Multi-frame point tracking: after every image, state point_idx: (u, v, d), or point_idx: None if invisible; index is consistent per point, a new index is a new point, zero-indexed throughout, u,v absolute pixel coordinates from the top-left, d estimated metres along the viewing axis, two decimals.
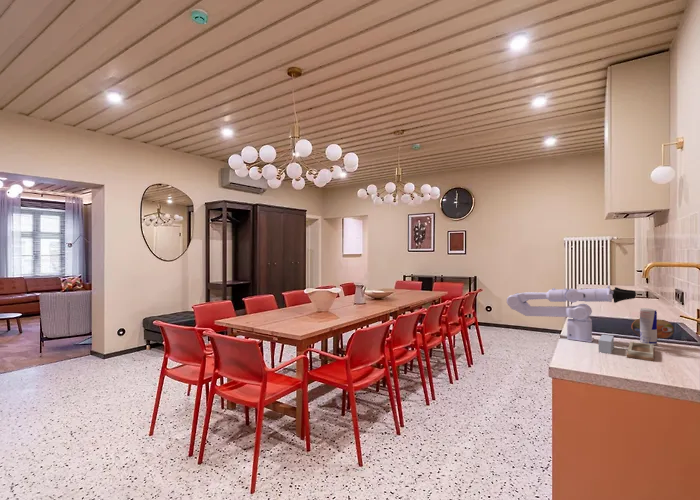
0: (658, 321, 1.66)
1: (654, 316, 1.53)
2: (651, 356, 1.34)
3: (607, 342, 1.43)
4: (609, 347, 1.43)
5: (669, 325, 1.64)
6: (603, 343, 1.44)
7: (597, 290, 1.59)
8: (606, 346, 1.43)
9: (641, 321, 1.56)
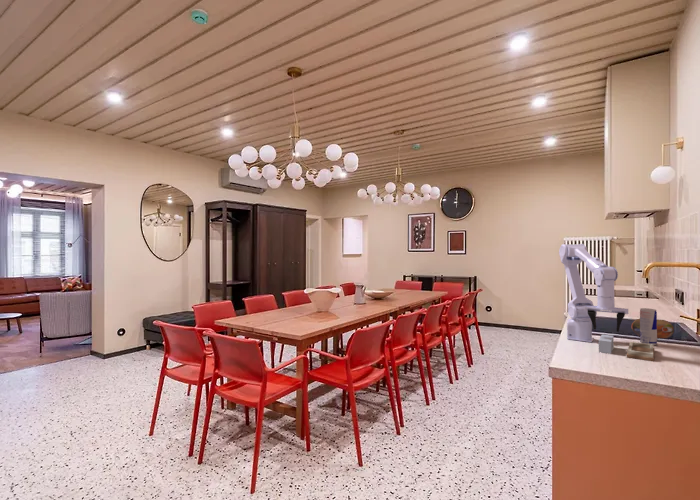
0: (658, 321, 1.66)
1: (654, 316, 1.53)
2: (651, 356, 1.34)
3: (607, 342, 1.43)
4: (609, 347, 1.43)
5: (669, 325, 1.64)
6: (603, 343, 1.44)
7: (600, 298, 1.48)
8: (606, 346, 1.43)
9: (641, 321, 1.56)
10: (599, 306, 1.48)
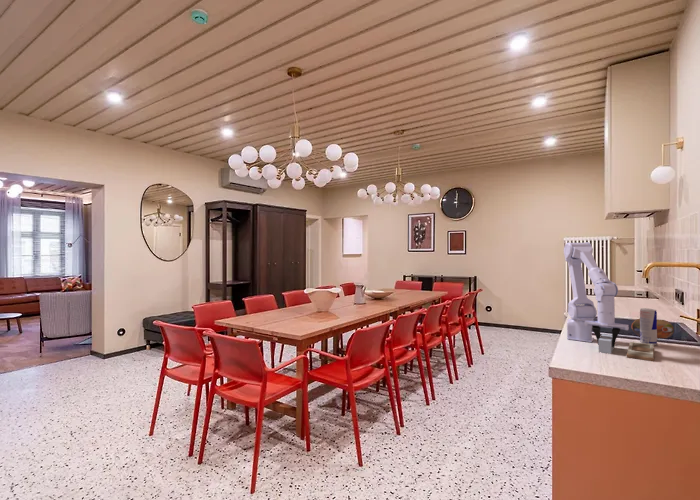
0: (658, 321, 1.66)
1: (654, 316, 1.53)
2: (651, 356, 1.34)
3: (607, 342, 1.43)
4: (609, 347, 1.43)
5: (669, 325, 1.64)
6: (603, 343, 1.44)
7: (600, 314, 1.48)
8: (606, 346, 1.43)
9: (641, 321, 1.56)
10: (599, 322, 1.48)
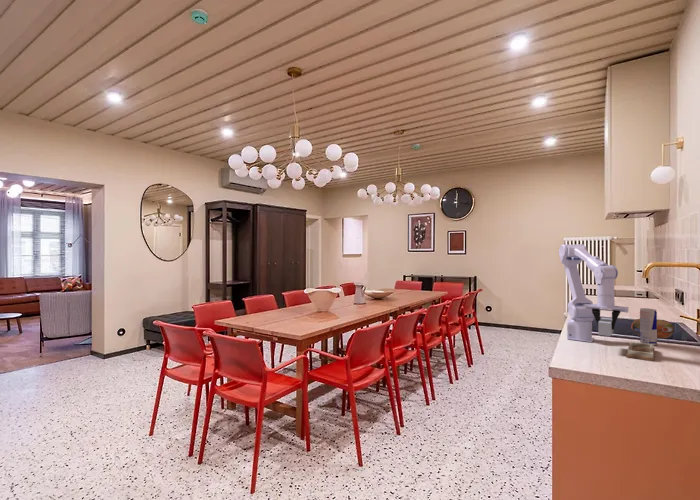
0: (658, 321, 1.66)
1: (654, 316, 1.53)
2: (651, 356, 1.34)
3: (607, 324, 1.43)
4: (609, 329, 1.43)
5: (669, 325, 1.64)
6: (603, 325, 1.44)
7: (599, 297, 1.48)
8: (606, 328, 1.43)
9: (641, 321, 1.56)
10: (599, 304, 1.48)
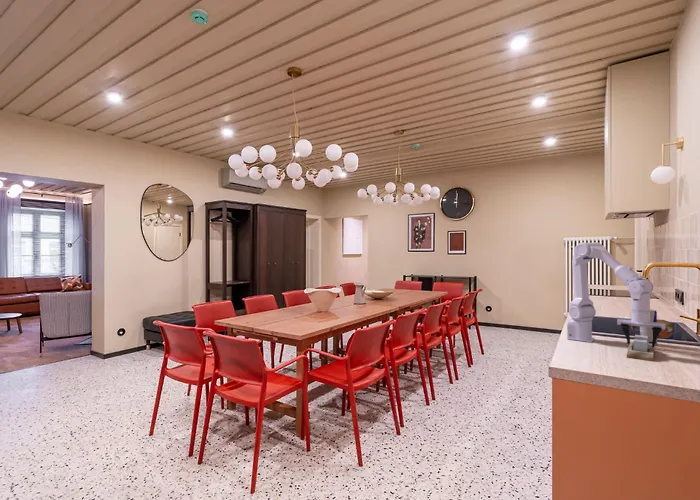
0: (658, 321, 1.66)
1: (654, 316, 1.53)
2: (651, 356, 1.34)
3: (643, 343, 1.37)
4: (645, 348, 1.36)
5: (669, 325, 1.64)
6: (638, 344, 1.37)
7: (634, 312, 1.41)
8: (642, 347, 1.37)
9: None
10: (634, 320, 1.41)
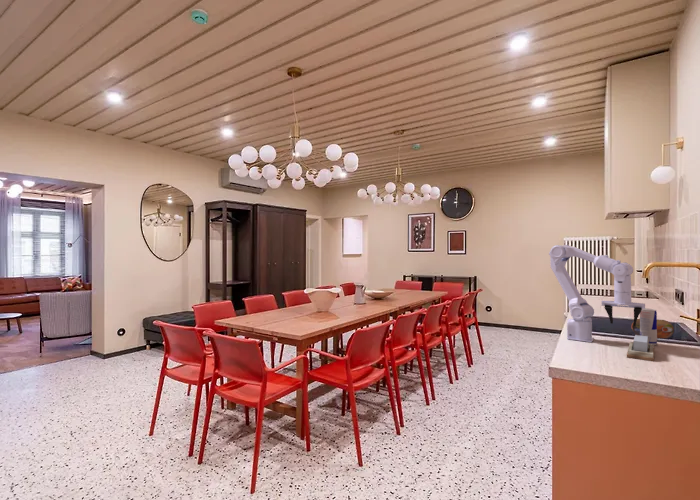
0: (658, 321, 1.66)
1: (654, 316, 1.53)
2: (651, 356, 1.34)
3: (643, 343, 1.37)
4: (645, 348, 1.36)
5: (669, 325, 1.64)
6: (638, 344, 1.37)
7: (617, 293, 1.51)
8: (642, 347, 1.37)
9: (641, 321, 1.56)
10: (616, 301, 1.51)
